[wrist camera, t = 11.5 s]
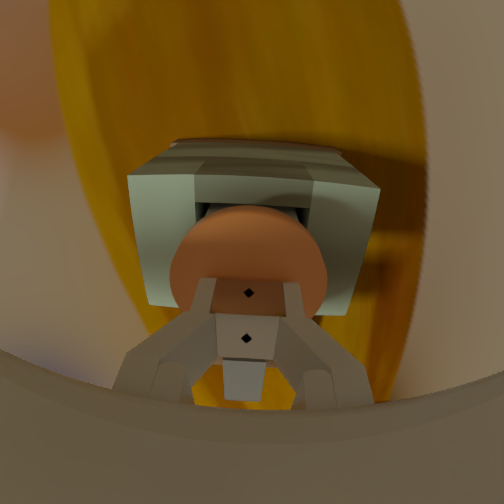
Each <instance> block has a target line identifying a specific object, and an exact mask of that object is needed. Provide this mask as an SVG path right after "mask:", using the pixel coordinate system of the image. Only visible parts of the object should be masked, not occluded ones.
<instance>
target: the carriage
mask: <svg viewBox="0 0 504 504" xmlns="http://www.w3.org/2000/svg"><path fill="white" fill-rule="evenodd" d="M265 367H266V359H252V358H246V356H245V358H232V357H223V377H224V394H225V400H238V401H260V399H261V393H262V387H263V380H264V374H265Z"/></svg>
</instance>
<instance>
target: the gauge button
mask: <svg viewBox="0 0 504 504" xmlns="http://www.w3.org/2000/svg"><path fill="white" fill-rule="evenodd" d="M201 277H211V278H217V279H218V278H224V279H237V280H250V281H265V282H298V283H299V284H300V290H301V295H302V300H303V306H304V311H305V317H306V318H311V319H312V317H313V316H314V315H315V314H316V313H317V311H318V310H319V309H320V307H321V305H322V303H323V301H324V298H325V295H326V291H327V279H328V277H327V271H326V267H325V264H324V261H323V258H322V255H321V252H320V249H319V246H318V245H317V243H316V241H315V239H314V238H313V236H312V235H311V234H310V232H309V231H308V230H307V229H306V228H305V227H304V226H303V225H302V224H301V223H299V221H298V217H297V214H296V211H295V207H286V206H271V205H254V204H234V203H211V204H210V206H209V208H208V210H207V213H206V215H205V217H204V218H202V219H200V220H199V221H198V222H197V223H195V224H194V225H193V226H192V227H191V228H190V229H189V230H188V232H187V233H186V234H185V236H184V237H183V239H182V241H181V243H180V245H179V247H178V249H177V251H176V253H175V255H174V258H173V260H172V263H171V267H170V275H169V280H170V288H171V292H172V295H173V297H174V300H175V302H176V304H177V305H178V307H179V308H180V310H181V311H182V312H185V311H189V312H190V309H191V306H192V302H193V299H194V296H195V292H196V289H197V286H198V282H199V279H200V278H201Z"/></svg>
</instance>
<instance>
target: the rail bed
mask: <svg viewBox="0 0 504 504" xmlns="http://www.w3.org/2000/svg"><path fill="white" fill-rule="evenodd" d="M341 154H342V152H341V151H339V150H338V149H336V148H334V147H326V146H318V145H309V144H299V143H289V142H276V141H261V140H240V139H177V140H175V141H174V142H172V143H171V148H169V149H168V150H166V151H164V152H163V153H161V154H159V155H158V156H156V157H155V158H153V159H151V160H150V161H148V162H147V163H145V164H144V165H142V166H141V167H139V168H138V169H136V170H135V171H133V172H132V173H130V174H129V175H127V177H128V187H129V195H130V203H131V211H132V218H133V225H134V231H135V237H136V243H137V249H138V254H139V260H140V265H141V270H142V275H143V280H144V284H145V289H146V293H147V298H148V302H149V305H158V306H167V307H177V308H179V307H178V305H177V304H176V302H175V300H174V297H173V295H172V292H171V288H170V280H169V275H170V267H171V263H172V260H173V258H174V255H175V253H176V251H177V249H178V247H179V245H180V243H181V241H182V239H183V237H184V236H185V234H186V233H187V232H188V230H189V229H190V228H191V227H192V226H193V225H194V224H195V223H197V222H198V221H199V220H200V219H202V218H204V217H205V215H206V213H207V210H208V208H209V206H210V204H211V203H234V204H254V205H271V206H286V207H295V211H296V214H297V217H298V221H299V223H301V224H302V225H303V226H304V227H305V228H306V229H307V230H308V231H309V232H310V234H311V235H312V236H313V238H314V239H315V241H316V243H317V245H318V246H319V249H320V252H321V255H322V258H323V261H324V264H325V267H326V271H327V277H328V279H327V291H326V295H325V298H324V301H323V303H322V305H321V307H320V309H319V310H318V311H317V313H316V314H315V315H346V312H347V309H348V306H349V303H350V300H351V297H352V294H353V291H354V288H355V285H356V282H357V279H358V275H359V272H360V269H361V265H362V262H363V259H364V255H365V251H366V248H367V244H368V240H369V237H370V233H371V229H372V225H373V221H374V217H375V212H376V208H377V204H378V199H379V195H380V190H381V189H380V188H379V187H378V186H377V185H375V184H374V183H373V182H372V181H371V180H369V179H368V178H367V177H366V176H365V175H363V174H362V173H361V172H360V171H359V170H357V169H356V168H355V167H354V166H352V165H351V164H350V163H349V162H347V161H346V160H345V159H343V158H342V157H341ZM213 364H219V365H223V357H217V359H216V361H215V362H214V363H213ZM266 367H277V366H276V364H275V363H274V361H273V360H268V359H266Z"/></svg>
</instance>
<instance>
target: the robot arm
mask: <svg viewBox="0 0 504 504" xmlns="http://www.w3.org/2000/svg"><path fill="white" fill-rule="evenodd" d="M245 356H246V358H252V359H268V360H273V361H274V363H275V364H276V366H277V367H278V368H279V370H280V371H281V373H282V374H283V375H284V377H285V378H286V380H287V381H288V382H289V384H290V385H291V387H292V388H293V389H294V391H295V392H296V393H297V394H296V396H295V399H294V402H293V405H292V407H291V410H247V409H231V408H218V407H208V406H199V405H195V403H194V399H193V395H192V391H191V387H192V386H193V385H194V384H195V383H196V382H197V381H198V379H199V378H200V377H201V376H202V375H203V374H204V373H205V372H206V371H207V370H208V368H209V367H210V366H211V365H212V364H213V363H214V362H215V361H216V359H217V357H232V358H245ZM0 504H504V371H501V372H499V373H496V374H493V375H491V376H488V377H485V378H482V379H479V380H477V381H473V382H470V383H467V384H464V385H460V386H457V387H453V388H449V389H446V390H442V391H438V392H434V393H430V394H425V395H421V396H417V397H411V398H406V399H401V400H396V401H390V402H383V403H377V404H375V403H374V399H373V396H372V392H371V388H370V384H369V381H368V377H367V374H366V370H365V367H364V366H363V365H362V364H361V363H360V362H359V361H358V360H357V359H356V358H354V357H353V356H352V355H351V354H350V353H349V352H348V351H347V350H345V349H344V348H343V347H342V346H341V345H340V344H339V343H338V342H337V341H335V340H334V339H333V338H332V337H331V336H330V335H329V334H328V333H327V332H325V331H324V330H323V329H322V328H321V327H320V326H319V325H318V324H317V323H315V322H314V321H313V320H312V319H311V318H306V317H305V311H304V306H303V300H302V295H301V290H300V284H299V283H298V282H265V281H250V280H237V279H224V278H218V279H217V278H211V277H201V278H200V279H199V282H198V286H197V289H196V292H195V296H194V299H193V302H192V306H191V309H190V312H189V311H185V312H183V313H182V314H180V315H179V316H178V317H176V318H175V319H173V320H172V321H171V322H169V323H168V324H166V325H165V326H164V327H162V328H161V329H159V330H158V331H157V332H155V333H154V334H152V335H151V336H150V337H148V338H147V339H146V340H144V341H143V342H141V343H140V344H138V345H137V346H136V347H134V348H133V349H131V350H130V351H129V352H127V353H126V356H125V358H124V360H123V363H122V365H121V367H120V370H119V373H118V375H117V377H116V380H115V383H114V385H113V388H112V389H108V388H104V387H101V386H97V385H94V384H90V383H87V382H83V381H80V380H77V379H74V378H71V377H68V376H65V375H62V374H59V373H56V372H54V371H51V370H48V369H45V368H43V367H40V366H38V365H35V364H33V363H30V362H28V361H26V360H23V359H21V358H19V357H17V356H14V355H12V354H10V353H8V352H6V351H4V350H2V349H0Z"/></svg>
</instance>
